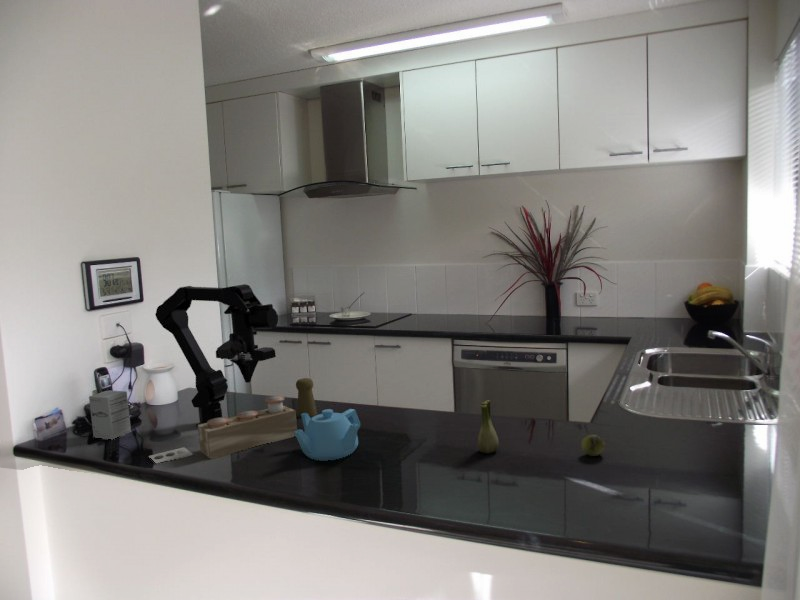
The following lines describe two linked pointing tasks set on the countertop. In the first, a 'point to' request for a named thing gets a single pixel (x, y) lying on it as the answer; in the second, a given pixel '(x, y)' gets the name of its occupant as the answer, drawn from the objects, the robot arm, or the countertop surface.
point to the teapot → (329, 435)
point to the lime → (593, 445)
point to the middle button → (247, 415)
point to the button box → (247, 432)
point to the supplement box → (110, 414)
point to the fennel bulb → (487, 431)
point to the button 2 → (275, 404)
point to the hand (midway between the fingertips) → (248, 382)
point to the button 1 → (217, 422)
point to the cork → (305, 397)
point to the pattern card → (170, 455)
